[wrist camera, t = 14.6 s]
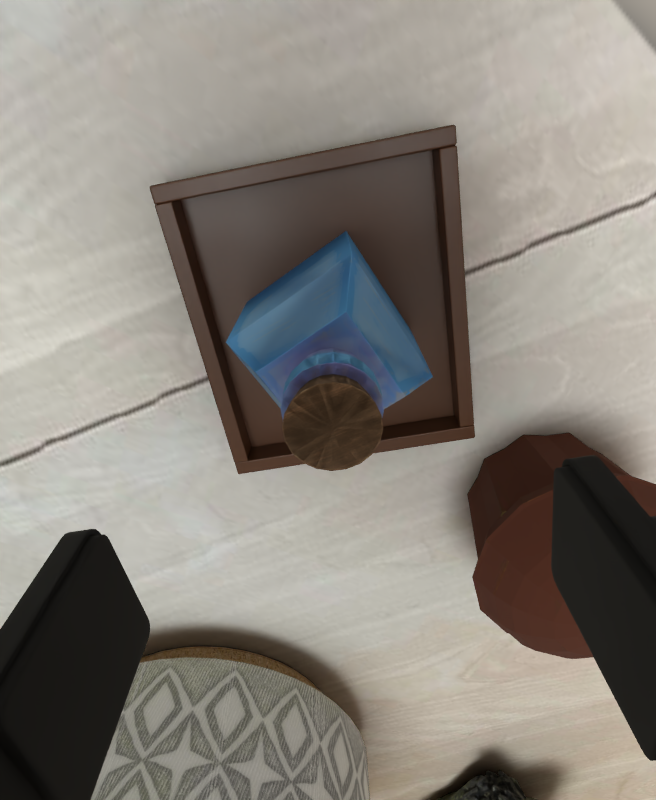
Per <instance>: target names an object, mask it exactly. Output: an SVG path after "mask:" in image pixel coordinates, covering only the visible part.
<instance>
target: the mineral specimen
mask: <svg viewBox="0 0 656 800" xmlns="http://www.w3.org/2000/svg"><path fill="white" fill-rule="evenodd" d="M485 775H486V776H482V775H479V776H476V777H474V778H473V779H471V780H469V781H468V782H467V783H466V784H465V785H464V786H463V787H462V788H460V789H459V790H458V791H457V792H453V793H450V794H447V795H445V796H444V797H442V798H440V799H437V800H537V799H535V798H532V797H525V795H524V793H523V791H522V790H521V788H520V786H519V783H518V781H517V780H516V779H513V778H512V777H509V776H507V775H506V774H504V773H503V772H502V771H500V770H499V772H498V775H499V776H498V775H496V774H495V773H494V772H492V771H489V770H487V772H486V774H485Z"/></svg>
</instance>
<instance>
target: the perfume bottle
mask: <svg viewBox="0 0 656 800" xmlns="http://www.w3.org/2000/svg"><path fill="white" fill-rule="evenodd" d="M226 343H227V344H228V346H229V347H230V348H231V349H232V350H233V352H234V353H235V354H236V355H237V357H238V358H239V359H240V360H241V361H242V363H243V364H244V365H245V366H246V367H247V369H248V370H249V371H250V372H251V373H252V375H253V376H254V377H255V378H256V379H257V381H258V382H259V383H260V384H261V386H262V387H263V388H264V389H265V390H266V392H267V393H268V394H269V395H270V396H271V398H272V399H273V400H274V401H275V402H276V404H277V405H278V406H279V407H280V408H281V414H282V419H283V424H282V430H283V435H284V440H285V443H286V444H287V446H288V447H289V449H290V451H291V452H292V454H294V455H295V456H296V457H297V458H298V459H299V460H301V461H302V462H303V463H305V464H307V465H310V466H312V467H314V468H316V469H323V470H329V471H334V470H343V469H348V468H350V467H353V466H355V465H358V464H360V463H362V462H363V461H364V460H365V459H367V458H368V457H369V456H370V455H372V453H373V452H374V450H375V449H376V448H377V446H378V445H379V443H380V440H381V436H382V432H383V422H382V416H383V413H384V409H385V408H387V407H389V406H390V405H392V404H394V403H395V402H397V401H399V400H400V399H402V398H404V397H405V396H407V395H408V394H410V393H411V392H412V391H414V390H415V389H417V388H418V387H419V386H421V385H422V384H424V383H425V382H426V381H428V380H429V379H431V378H432V377H433V376H432V374H431V372H430V370H429V367H428V365H427V363H426V361H425V359H424V357H423V355H422V353H421V351H420V349H419V346H418V344H417V342H416V340H415V338H414V336H413V334H412V332H411V330H410V328H409V327H408V325H407V324H406V322H405V321H404V319H403V318H402V316H401V314H400V313H399V311H398V310H397V308H396V307H395V305H394V304H393V302H392V301H391V299H390V297H389V296H388V294H387V293H386V291H385V290H384V288H383V287H382V285H381V284H380V282H379V281H378V279H377V277H376V276H375V274H374V273H373V271H372V270H371V268H370V267H369V265H368V264H367V262H366V261H365V259H364V257H363V256H362V254H361V253H360V251H359V250H358V248H357V247H356V245H355V244H354V242H353V240H352V239H351V237H350V236H349V234H348V233H347V231H345V232H344V233H342V234H341V235H339V236H338V237H337V238H335V239H334V240H332V241H331V242H330V243H328V244H327V245H326V246H324V247H323V248H321V249H320V250H319V251H317V252H316V253H314V254H313V255H312V256H310V257H309V258H307V259H306V260H305V261H303V262H302V263H300V264H299V265H298V266H296V267H295V268H294V269H292V270H291V271H289V272H288V273H287V274H285V275H284V276H282V277H281V278H280V279H278V280H277V281H275V282H274V283H273V284H271V285H270V286H268V287H267V288H266V289H264V290H263V291H262V292H260V293H259V294H257V295H256V296H255V297H253V298H252V299H250V300H249V301H248V302H247V303H246V305H245V307H244V309H243V310H242V312H241V314H240V316H239V318H238V320H237V322H236V324H235V326H234V327H233V329H232V331H231V333H230V335H229V337H228V339H227V341H226Z"/></svg>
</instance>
